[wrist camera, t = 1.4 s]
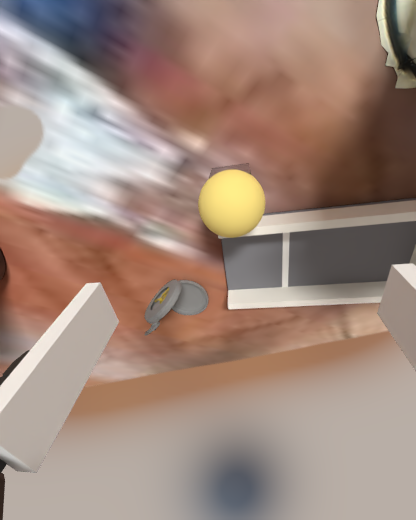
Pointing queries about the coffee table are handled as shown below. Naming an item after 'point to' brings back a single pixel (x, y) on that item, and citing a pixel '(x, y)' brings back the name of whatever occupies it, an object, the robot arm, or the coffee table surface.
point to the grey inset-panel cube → (236, 167)
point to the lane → (320, 255)
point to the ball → (231, 203)
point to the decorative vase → (399, 38)
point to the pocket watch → (176, 301)
